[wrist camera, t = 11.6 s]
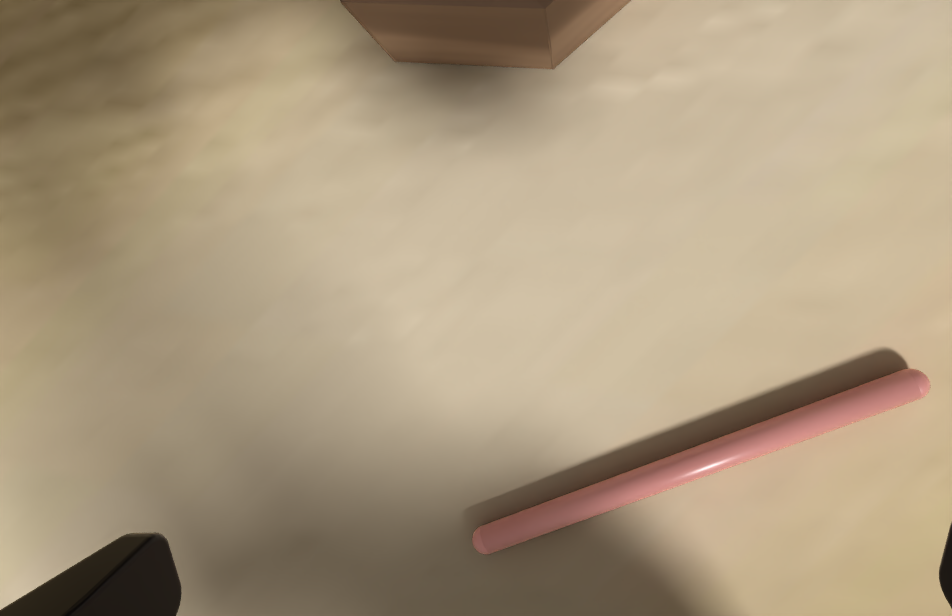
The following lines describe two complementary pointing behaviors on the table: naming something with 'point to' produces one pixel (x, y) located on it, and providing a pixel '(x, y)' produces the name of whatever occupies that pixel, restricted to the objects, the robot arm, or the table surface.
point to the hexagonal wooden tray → (482, 29)
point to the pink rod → (705, 459)
